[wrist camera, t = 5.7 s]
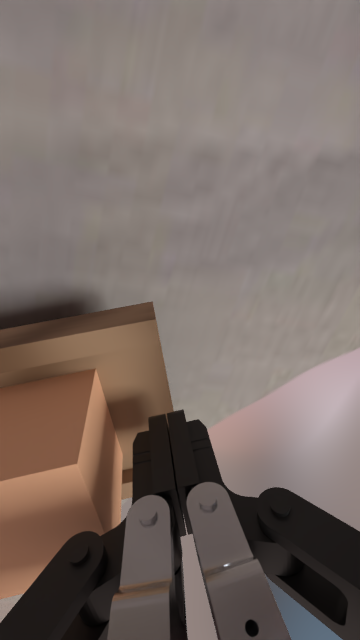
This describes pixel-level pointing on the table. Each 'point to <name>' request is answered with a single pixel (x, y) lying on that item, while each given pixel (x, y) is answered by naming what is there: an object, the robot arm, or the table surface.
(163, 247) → the table surface
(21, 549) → the block
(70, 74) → the table surface
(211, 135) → the table surface
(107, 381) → the beam
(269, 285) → the table surface
